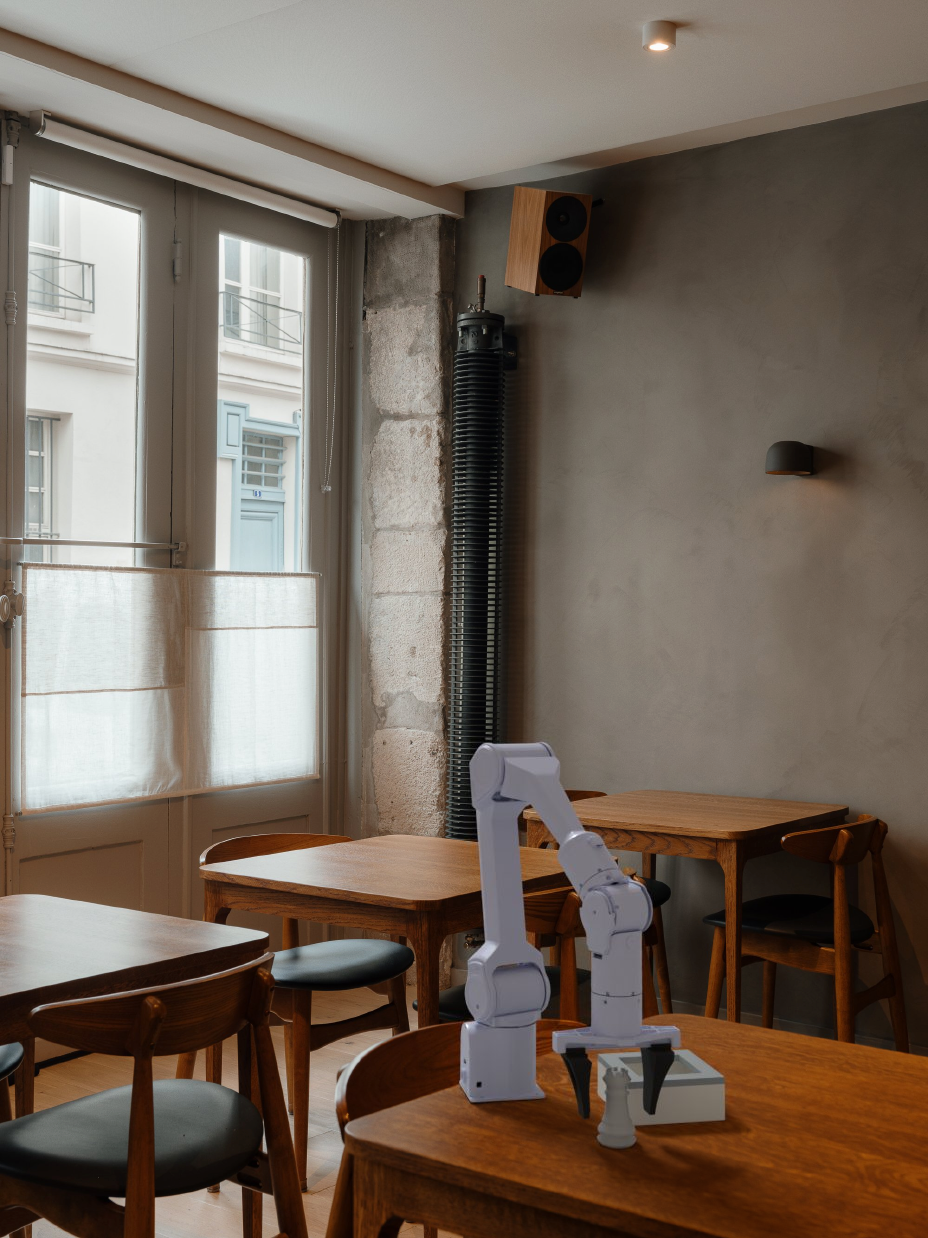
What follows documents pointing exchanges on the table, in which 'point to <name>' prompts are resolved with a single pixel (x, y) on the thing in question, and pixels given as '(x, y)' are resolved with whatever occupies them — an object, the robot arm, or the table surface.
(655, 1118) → the piece box
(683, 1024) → the table surface
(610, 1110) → the rook chess piece
